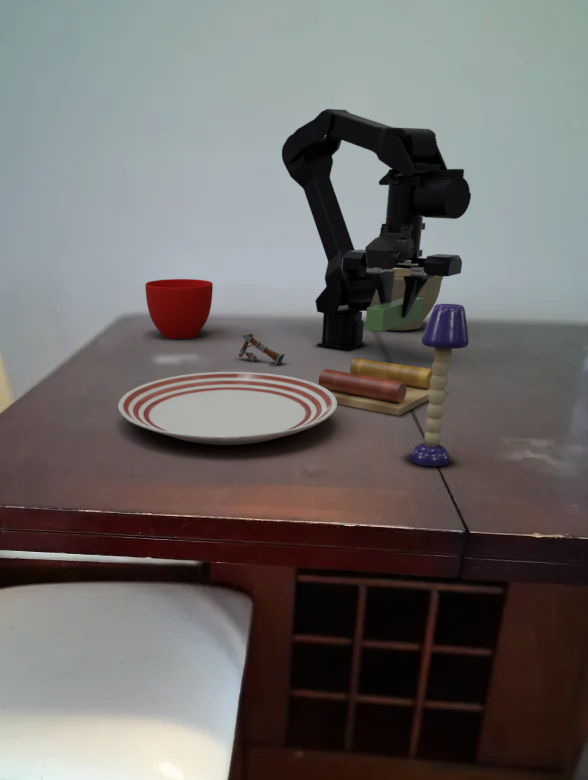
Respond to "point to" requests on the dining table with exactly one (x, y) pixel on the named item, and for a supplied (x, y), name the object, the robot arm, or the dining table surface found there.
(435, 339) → the toy lamp
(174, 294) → the ceramic cup
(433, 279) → the planter bowl
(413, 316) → the bar
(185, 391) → the dinner plate
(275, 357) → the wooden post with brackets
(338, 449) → the dining table surface
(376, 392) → the rod rack
